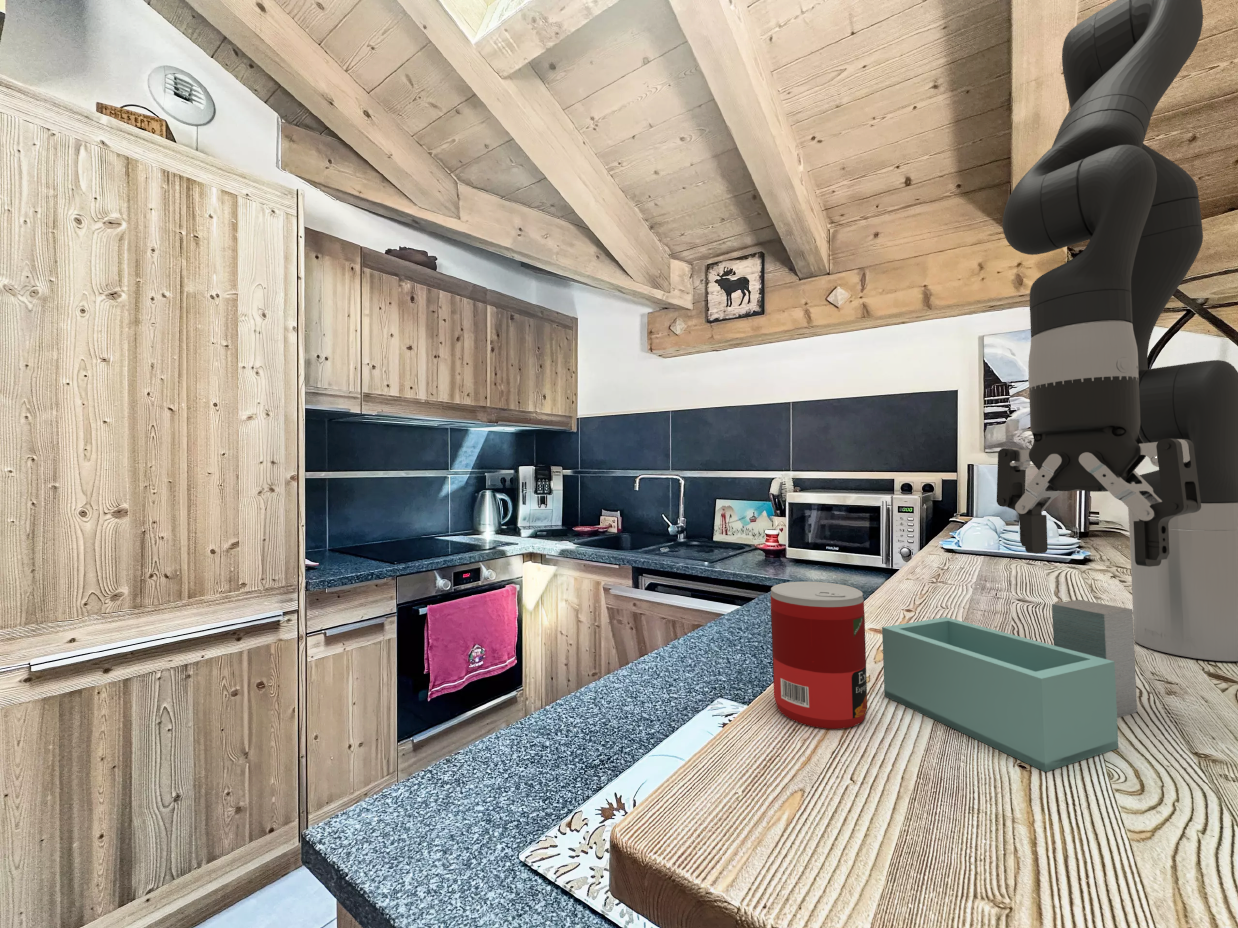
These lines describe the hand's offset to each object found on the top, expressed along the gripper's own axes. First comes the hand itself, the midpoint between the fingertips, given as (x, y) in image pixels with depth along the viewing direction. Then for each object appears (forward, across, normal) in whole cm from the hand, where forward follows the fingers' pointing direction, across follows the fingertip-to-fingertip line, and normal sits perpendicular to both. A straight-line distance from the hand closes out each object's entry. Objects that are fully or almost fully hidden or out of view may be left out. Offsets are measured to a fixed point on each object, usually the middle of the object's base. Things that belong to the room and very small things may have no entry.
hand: (1087, 558), depth 47 cm
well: (+14, +2, +11) cm, 17 cm away
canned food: (+14, +9, +23) cm, 28 cm away
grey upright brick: (+13, 0, 0) cm, 13 cm away
